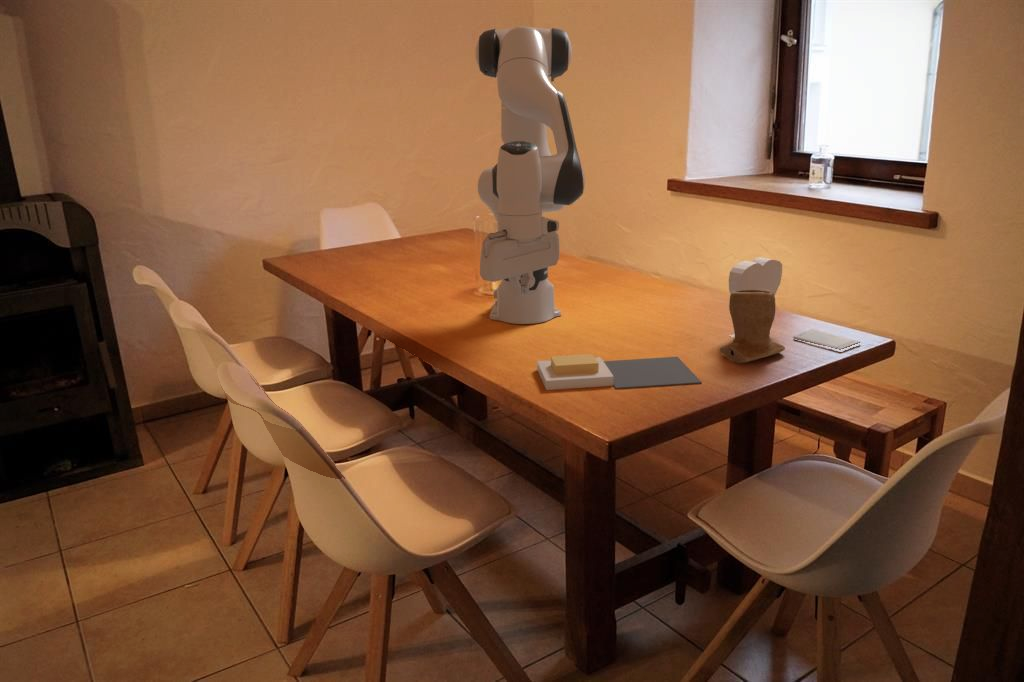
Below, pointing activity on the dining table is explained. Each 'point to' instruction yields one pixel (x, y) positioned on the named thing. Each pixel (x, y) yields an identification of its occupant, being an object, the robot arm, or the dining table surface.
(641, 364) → the mat
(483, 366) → the dining table surface
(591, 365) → the yellow rectangular block
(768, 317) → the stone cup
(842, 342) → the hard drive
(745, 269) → the heart sculpture
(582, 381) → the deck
